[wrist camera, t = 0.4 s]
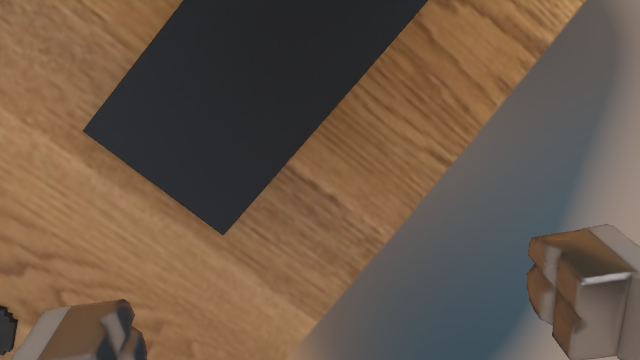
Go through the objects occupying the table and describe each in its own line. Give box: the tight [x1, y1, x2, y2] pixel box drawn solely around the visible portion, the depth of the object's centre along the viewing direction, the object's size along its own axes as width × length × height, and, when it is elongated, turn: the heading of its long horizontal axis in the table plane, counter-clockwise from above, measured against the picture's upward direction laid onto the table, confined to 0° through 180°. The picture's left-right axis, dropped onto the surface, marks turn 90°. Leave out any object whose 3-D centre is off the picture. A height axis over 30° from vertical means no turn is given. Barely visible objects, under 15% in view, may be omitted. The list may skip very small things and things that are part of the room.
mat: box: [83, 0, 428, 235], centre depth 32 cm, size 28×12×1 cm, turn 139°
